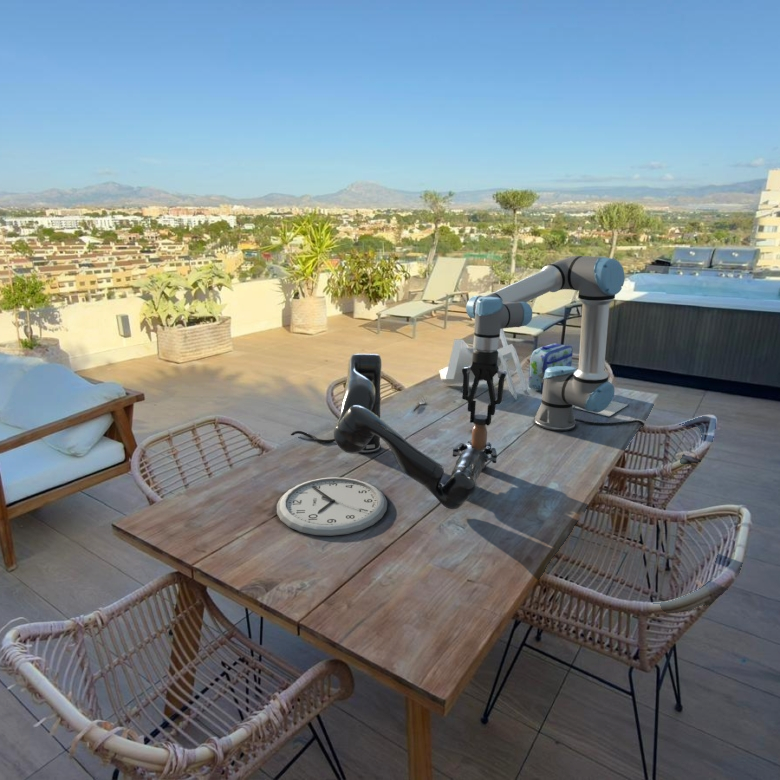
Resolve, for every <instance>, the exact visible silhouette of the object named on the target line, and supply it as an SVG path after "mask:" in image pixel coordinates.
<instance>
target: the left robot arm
mask: <svg viewBox="0 0 780 780" xmlns="http://www.w3.org/2000/svg"><path fill="white" fill-rule="evenodd" d="M349 357H350V358H349V360H348V365H347V377H346V383H345V386H344V390H343V395H342V396H343V397H342V402H341V407H340V415H339V418H338V421H337V423H336V425H335V427H334V429H333V438H331V439H321V438H317V437H316V436H315V435H312V434H310V433H308V432H305V431H302V430H294V431H292V432H291V433H290V436H294V435H297V434H299V435H302V436H306V437H307V438H309V439H313V440H314V441H315V442H317V443H323V444H324V443H325V444H326V443H328V444H329V443H334V442H335V443H336V445H337V446H338V448H339V449H340V450H342V451H343V452H344V453H347V454H352V455H353V454H358V453H360V454H373V453H376V452H378V451H380V449H381V440H382V441H383V442H385V444H386V445H387V446H388V447H389V449H390V451H391V452H392V455H393V456H394V459H395V461H396V462H397V464H398V466H399V468H400V470H402V472H403V473H404V474H405V475H407V476H408V477H409V478H411V479H412V480H414V481H416V483H419V484H420V485H422V486H423V487H425V488H426V489H427V490H428V491H429V492H430V493H431V494H432V496H434V497H435V498H436V500H437V501H438V502H439V503H440V504H441V505H442V506H443V507H444V508H447V510H448V509H449V510H458V509H459V508H460V507H461V506H462V505H464V504H465V502H466V501H467V500H468V499H469V498H470V497H471V496H473V494H474V493H475V491H476V489H477V488H478V484H477V479H478V478H479V477H480V475H481V473H482V471H483V469H482V468H483V466H484V464H485V465H486V463H488V461H490V462H492V463H493V464H496V463H497V458H498V453H497V449H496V448H495V447H492V444H491V442H489V441H488V442H487V444H486V447H485V448H484V447H482V448H481V449H475V448H472V447H471V440H472V439H470V440H468V441H467V442H466V443H463V442H461V443H459V444H457V445H456V446H455V447H453V448H452V457H455V458H456V457H458V458H457V459H456V461H455V464H454V467H453V469H452V471H451V474H450V478H449V479H448V480H447V481H446V482H445V483H442V482H441V480H442V478H443V477H444V474H445V469H444V466H443V465H442V464H441V463H439V462H438V461H436V460H435V459H433V458H432V457H429V455H427V454H426V453H423V452H421V450H419V449H418V448H416V447H415V446H413V445H412V444H411V443H410V442H408V441H407V439H405V438H404V437H403V436H402V435H400V434H399V432H397V431H396V430H395V429H393V427H391V426H390V425H389V424H388V423H386V422H385V421H384V420H383V419H382V418H381V384H382V383H381V382H382V369H383V367H382V366H383V364H382V357H381V356H380V354H379V353H354V354H352V355H351V356H349ZM307 433H308V434H307Z"/></svg>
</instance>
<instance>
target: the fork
mask: <svg viewBox="0 0 780 780" xmlns="http://www.w3.org/2000/svg"><path fill="white" fill-rule="evenodd" d="M427 399H428V397H424V396H422V397H421V398H420V400H419V402H418V403H419V404H417V405H416V406H415V408H413V412H415V411H416V410H419V408H420V406H421V405H425V404H426V403H427Z"/></svg>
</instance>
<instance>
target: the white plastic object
mask: <svg viewBox="0 0 780 780" xmlns="http://www.w3.org/2000/svg"><path fill="white" fill-rule="evenodd" d="M499 339H500V342H501V345H502V347H499V349H498V350H497V351H498V363H497V365H498V368H499V367H500V366H502V370H503V372H504V371H505V372H507V375H506V377H505V380H506V383H507V386H508V390H509V393H510V394H511V395H512V397H513V398H514V399H515V400H517V392H516V391H517V390H516V388H515V385H514V381H513V378H512V375H511V371H510V369H509V365H508V361H510V360H513V363H514V366H515V369H516V372H517V376H518V380H519V382H520V385H521V389H522V391H523V393H524V395H525V396H526V397H528V396H531V395H530V390H529V386H528V384H527V381H526V378H525V375H524V371H523V369H522V368H523V367H522V366H521V362H520V359H519V355H518V352H517V349H516V347H515V346H514V345H513V343H511V344H508V341H507V337H506V334H505V331H504V328H503V329H500V338H499ZM473 350H474V348H473V346H469V345H468V343H466V342H465V340H464V339H463V338H460V339H458V338H454V340H453V344H452V349H451V353H450V357H449V362H448V366H446V367H444V368H442V369H440V370H439V371H438V372H439V376H440V381H442V383H443V384H444V385H445V386H449V385H458V384H463V373H462V369H463V368H464V367H470V366H471V364H472V358H473ZM474 378H475V376H474V374H473V372H472V371H470V373H469V383H473V382H474ZM482 381H483V380H480V381H479V383H480V382H482Z"/></svg>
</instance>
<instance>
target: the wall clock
mask: <svg viewBox="0 0 780 780" xmlns="http://www.w3.org/2000/svg"><path fill="white" fill-rule="evenodd" d="M387 509H388V500H387V498H386V496H385V494H384V493H383V492H382V491H381V490H380V489H379V488H377V487H376V486H374V485H372V484H371V483H369V482H365V481H362V480H359V479H355V478H349V477H338V476H337V477H335V476H333V477H332V476H331V477H322V478H317V479H312V480H307V481H305V482H302V483H299V484H297V485H295V486H293V487H292V488H290V489H288V490H287V491H286V492H285V493H284V494H283V495H281V496H280V498H279V499H278V502H277V503H276V515H277V517H278V518H279V520H280V521H281V522H282V523H283V524H285V525H286V526H287V527H288V528H290V529H293V530H295V531H297V532H299V533H303V534H308V535H312V536H327V537H328V536H329V537H331V536H332V537H333V536H342V535H350V534H352V533H356V532H361V531H363V530H366V529H368V528H369V527H372V526H373V525H375V524H376V523H378V522H379V521H380V520H381V519H382V518H383V517H384V516H385V514H386V512H387Z"/></svg>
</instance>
